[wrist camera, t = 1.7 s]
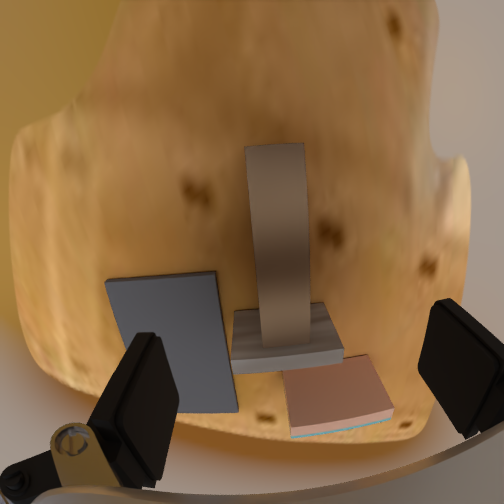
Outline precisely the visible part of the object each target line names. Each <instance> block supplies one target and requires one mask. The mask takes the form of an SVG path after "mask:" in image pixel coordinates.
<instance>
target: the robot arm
mask: <svg viewBox="0 0 504 504" xmlns="http://www.w3.org/2000/svg"><path fill="white" fill-rule="evenodd" d="M418 371H419V374H420V375H421V377H422V378H423V380H424V381H425V383H426V384H427V386H428V387H429V388H430V390H431V391H432V393H433V394H434V396H435V397H436V399H437V400H438V402H439V404H440V405H441V406H442V408H443V409H444V411H445V413H446V414H447V416H448V418H449V419H450V421H451V422H452V424H453V425H454V427H455V429H456V430H457V432H458V433H462V435H463V436H464V438H465V440H466V439H468V438H470V437H472V436H474V435H476V434H477V433H478V431H480V432H481V434H479V435H477V436H475V437H473V438H471V439H469V440H467V441H465V442H463V443H461V444H458V445H456V446H454V447H452V448H450V449H447V450H445V451H443V452H440V453H438V454H435V455H433V456H430V457H428V458H425V459H423V460H420V461H418V462H415V463H412V464H409V465H406V466H403V467H400V468H397V469H394V470H391V471H387V472H384V473H380V474H377V475H373V476H370V477H366V478H362V479H358V480H354V481H349V482H344V483H340V484H335V485H329V486H324V487H318V488H312V489H305V490H297V491H289V492H280V493H268V494H250V495H202V494H183V493H170V492H160V491H152V490H142V486H143V487H150V488H155V485H156V480H159V481H160V480H161V478H162V475H163V471H164V466H165V462H166V457H167V453H168V449H169V444H170V440H171V436H172V432H173V427H174V423H175V419H176V415H177V411H178V407H179V393H178V390H177V387H176V384H175V381H174V378H173V375H172V372H171V369H170V365H169V362H168V359H167V356H166V352H165V349H164V345H163V342H162V339H161V337H160V336H156V334H155V333H154V332H138V333H136V335H135V337H134V338H133V340H132V342H131V344H130V345H129V347H128V349H127V351H126V352H125V354H124V356H123V358H122V359H121V361H120V363H119V365H118V367H117V368H116V370H115V372H114V373H113V375H112V376H111V378H110V380H109V382H108V384H107V386H106V388H105V389H104V391H103V393H102V395H101V397H100V399H99V401H98V403H97V405H96V407H95V408H94V410H93V412H92V414H91V416H90V418H89V420H88V422H87V424H82V423H69V424H65V425H63V426H62V427H60V428H59V429H57V430H56V431H55V433H54V434H53V435H52V437H51V441H50V449H51V450H49V451H46V452H44V453H41V454H39V455H36V456H34V457H31V458H29V459H26V460H23V461H21V462H18V463H15V464H12V465H10V466H8V467H7V468H6V469H5V470H4V471H3V472H2V474H1V476H0V504H504V344H503V343H501V341H499V340H498V339H497V338H496V337H495V336H494V335H493V334H492V333H491V332H489V331H488V330H487V329H486V328H485V327H484V326H483V325H482V324H481V323H479V322H478V321H477V320H476V319H475V318H474V317H472V316H471V315H470V314H469V313H468V312H466V311H465V310H464V309H463V308H462V307H461V306H459V305H458V304H457V303H456V302H455V301H453V300H452V299H450V298H447V299H442V300H438V301H436V302H435V303H434V305H433V306H432V307H431V310H430V315H429V320H428V325H427V329H426V334H425V338H424V342H423V347H422V351H421V354H420V358H419V362H418Z"/></svg>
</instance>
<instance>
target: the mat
mask: <svg viewBox="0 0 504 504" xmlns="http://www.w3.org/2000/svg"><path fill="white" fill-rule="evenodd" d="M104 283H105V287H106V290H107V294H108V297H109V300H110V304H111V307H112V310H113V313H114V316H115V319H116V322H117V325H118V328H119V331H120V334H121V337H122V339H123V342H124V345H125V348H126V350H127V349H128V347H129V345H130V344H131V342H132V340H133V338H134V337H135V335H136V333H138V332H154V333H155V334H156V336H160V337H161V339H162V342H163V345H164V349H165V352H166V356H167V359H168V362H169V365H170V369H171V372H172V375H173V378H174V381H175V384H176V387H177V390H178V393H179V407H178V411H177V413H238V412H239V408H238V403H237V397H236V392H235V387H234V381H233V376H232V370H231V365H230V359H229V354H228V348H227V342H226V336H225V330H224V324H223V318H222V312H221V305H220V299H219V293H218V286H217V279H216V273H215V272H202V273H190V274H177V275H164V276H150V277H136V278H122V279H107V280H106V281H105V282H104Z"/></svg>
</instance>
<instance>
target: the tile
mask: <svg viewBox="0 0 504 504" xmlns="http://www.w3.org/2000/svg"><path fill="white" fill-rule="evenodd" d="M283 383H284V391H285V398H286V405H287V412H288V420H289V427H290V435H291V438H299V437H307V436H314V435H320V434H327V433H332V432H338V431H343V430H348V429H353V428H358V427H362V426H367V425H371V424H375V423H379V422H383V421H387V420H390V419H391V416H392V414H393V411H394V406H393V404H392V402H391V400H390V398H389V396H388V394H387V392H386V390H385V388H384V386H383V384H382V382H381V380H380V378H379V376H378V374H377V372H376V370H375V368H374V366H373V364H372V362H371V360H370V358H369V356H368V355H364V356H358V357H352V358H346V359H343V363H337V364H331V365H324V366H317V367H309V368H301V369H293V370H284V371H283Z"/></svg>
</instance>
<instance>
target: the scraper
mask: <svg viewBox="0 0 504 504" xmlns="http://www.w3.org/2000/svg"><path fill="white" fill-rule="evenodd" d="M244 148H245V159H246V169H247V180H248V191H249V201H250V212H251V223H252V234H253V244H254V255H255V266H256V277H257V288H258V299H259V309H256V310H244V311H234V323H233V337H232V350H231V365H232V370H233V374H249V373H262V372H273V371H284V370H293V369H301V368H309V367H317V366H324V365H331V364H337V363H343V355H344V347H343V345H342V342H341V340H340V338H339V336H338V333H337V331H336V329H335V327H334V325H333V322H332V320H331V318H330V316H329V314H328V311H327V309H326V307H325V305H324V303H316V304H310V246H309V218H308V197H307V179H306V164H305V150H304V143H288V144H272V145H258V146H247V147H244Z"/></svg>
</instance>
